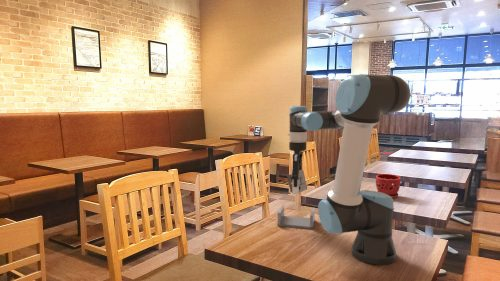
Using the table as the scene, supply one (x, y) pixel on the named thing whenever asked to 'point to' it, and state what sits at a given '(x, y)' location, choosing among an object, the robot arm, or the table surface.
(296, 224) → the housing
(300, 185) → the electrical switch
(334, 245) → the table surface
